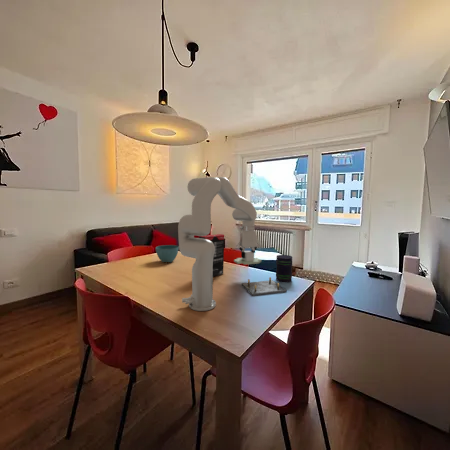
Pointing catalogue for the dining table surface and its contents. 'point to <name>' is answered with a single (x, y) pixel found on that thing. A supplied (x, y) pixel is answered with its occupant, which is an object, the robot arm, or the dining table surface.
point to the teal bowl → (167, 252)
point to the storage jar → (284, 268)
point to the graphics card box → (217, 252)
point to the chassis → (263, 287)
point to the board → (239, 260)
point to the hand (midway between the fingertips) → (247, 257)
